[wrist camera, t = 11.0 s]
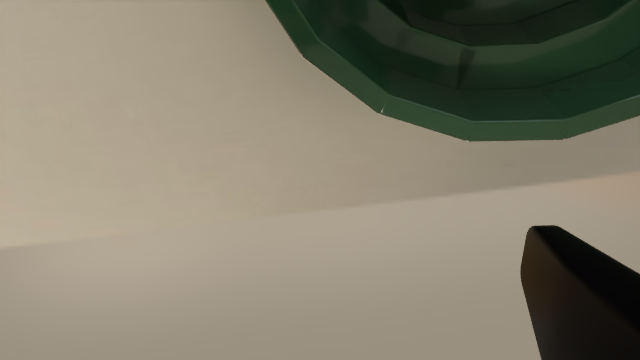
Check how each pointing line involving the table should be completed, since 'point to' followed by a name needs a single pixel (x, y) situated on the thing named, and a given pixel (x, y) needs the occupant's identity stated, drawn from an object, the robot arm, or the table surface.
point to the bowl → (478, 61)
